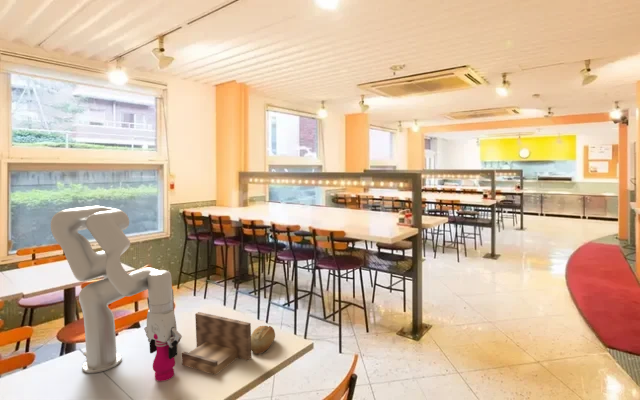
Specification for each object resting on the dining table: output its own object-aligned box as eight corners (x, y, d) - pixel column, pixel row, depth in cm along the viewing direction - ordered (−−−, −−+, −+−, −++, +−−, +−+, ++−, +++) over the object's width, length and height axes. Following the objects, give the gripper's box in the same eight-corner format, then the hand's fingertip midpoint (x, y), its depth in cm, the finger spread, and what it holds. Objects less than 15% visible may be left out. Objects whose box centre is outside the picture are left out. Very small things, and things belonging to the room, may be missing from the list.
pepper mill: (167, 383, 121) (164, 327, 119) (148, 381, 122) (145, 325, 120) (179, 371, 128) (177, 318, 126) (162, 369, 129) (159, 316, 127)
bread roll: (279, 338, 152) (278, 320, 151) (269, 356, 137) (268, 337, 137) (257, 337, 153) (257, 319, 153) (245, 355, 139) (245, 335, 138)
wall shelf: (172, 361, 134) (170, 326, 133) (200, 344, 147) (198, 311, 146) (226, 378, 123) (225, 339, 122) (251, 358, 136) (250, 323, 135)
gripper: (134, 306, 123) (137, 354, 124) (170, 314, 115) (173, 365, 117) (152, 299, 130) (155, 344, 131) (187, 306, 122) (190, 354, 124)
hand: (163, 354), depth 124 cm, fingers open, 8 cm apart
